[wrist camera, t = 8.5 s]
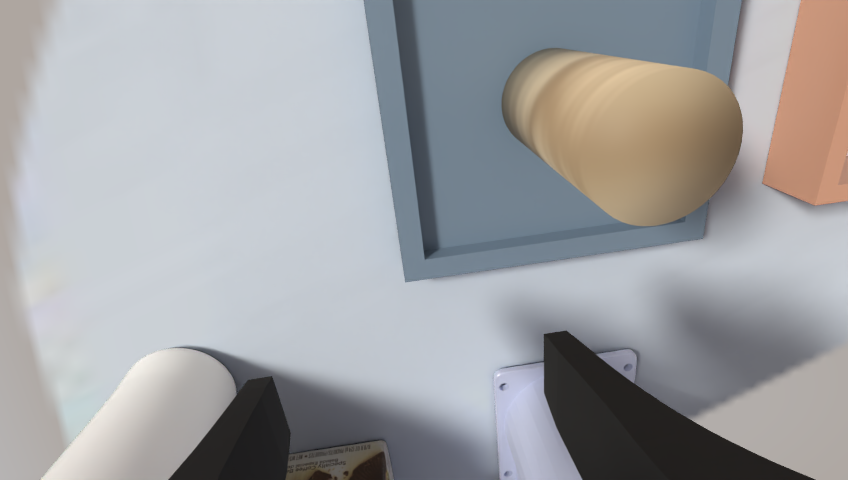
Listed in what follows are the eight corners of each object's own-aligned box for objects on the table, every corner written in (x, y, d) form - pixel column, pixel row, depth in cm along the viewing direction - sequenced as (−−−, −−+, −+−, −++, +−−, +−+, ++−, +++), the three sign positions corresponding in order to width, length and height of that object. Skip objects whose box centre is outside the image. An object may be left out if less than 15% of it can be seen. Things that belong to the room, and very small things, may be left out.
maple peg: (594, 141, 20) (728, 214, 13) (503, 153, 20) (584, 236, 13) (598, 41, 19) (756, 57, 11) (499, 54, 18) (589, 80, 11)
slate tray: (683, 226, 23) (702, 238, 22) (403, 266, 23) (405, 282, 21) (732, -121, 17) (763, -133, 16) (352, -78, 17) (351, -87, 15)
